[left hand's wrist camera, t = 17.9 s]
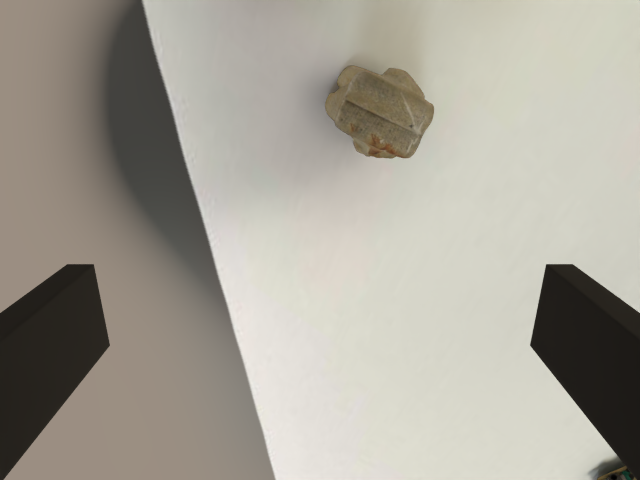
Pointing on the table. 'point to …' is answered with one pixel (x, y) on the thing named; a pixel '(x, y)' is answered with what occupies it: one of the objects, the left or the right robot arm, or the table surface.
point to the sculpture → (380, 111)
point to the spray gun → (618, 475)
